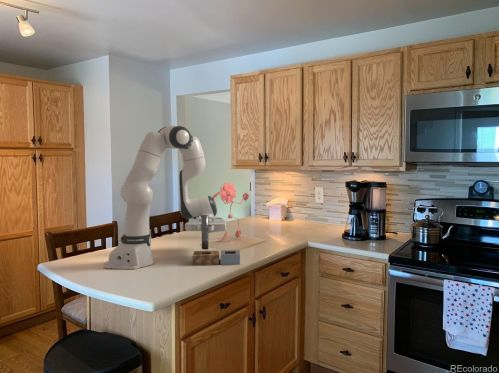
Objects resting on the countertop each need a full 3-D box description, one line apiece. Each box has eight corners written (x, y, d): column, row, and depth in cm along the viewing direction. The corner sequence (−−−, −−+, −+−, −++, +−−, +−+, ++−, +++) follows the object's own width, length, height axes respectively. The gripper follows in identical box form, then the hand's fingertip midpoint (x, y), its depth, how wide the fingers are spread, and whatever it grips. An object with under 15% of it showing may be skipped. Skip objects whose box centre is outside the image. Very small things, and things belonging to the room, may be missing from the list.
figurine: (253, 238, 236) (251, 181, 234) (218, 245, 219) (216, 183, 217) (237, 235, 247) (235, 181, 245) (203, 241, 231) (201, 183, 229)
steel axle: (201, 249, 180) (201, 215, 179) (202, 248, 184) (201, 214, 182) (208, 249, 180) (208, 215, 179) (208, 248, 184) (208, 214, 183)
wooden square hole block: (192, 265, 178) (192, 255, 178) (194, 260, 187) (194, 251, 187) (218, 264, 178) (218, 255, 178) (219, 259, 187) (219, 250, 187)
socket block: (220, 264, 178) (220, 255, 178) (221, 259, 187) (221, 250, 187) (240, 264, 179) (239, 254, 178) (239, 259, 188) (239, 250, 187)
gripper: (186, 218, 194) (182, 222, 180) (226, 218, 194) (226, 222, 181) (186, 230, 194) (182, 235, 180) (226, 230, 195) (226, 235, 181)
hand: (204, 229), depth 180 cm, fingers closed on steel axle, 3 cm apart
